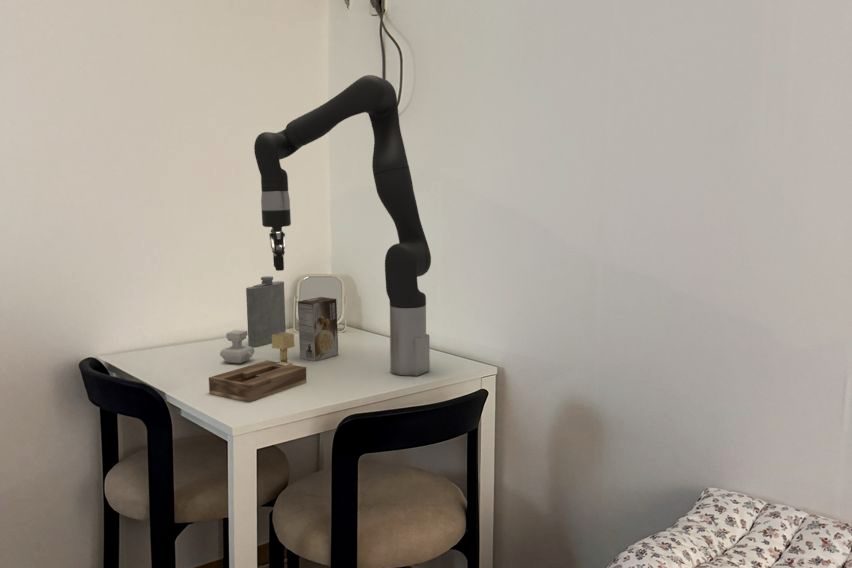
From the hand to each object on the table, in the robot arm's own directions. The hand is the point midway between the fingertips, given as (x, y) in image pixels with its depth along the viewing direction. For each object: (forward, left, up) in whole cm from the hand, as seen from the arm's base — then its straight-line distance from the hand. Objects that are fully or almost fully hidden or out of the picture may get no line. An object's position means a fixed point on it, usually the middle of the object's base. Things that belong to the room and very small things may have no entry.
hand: (278, 268), depth 206 cm
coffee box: (-7, -7, -25) cm, 27 cm away
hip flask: (+18, -13, -25) cm, 34 cm away
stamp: (+8, +9, -25) cm, 28 cm away
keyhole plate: (-15, +24, -25) cm, 38 cm away
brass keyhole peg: (-7, +7, -25) cm, 27 cm away
